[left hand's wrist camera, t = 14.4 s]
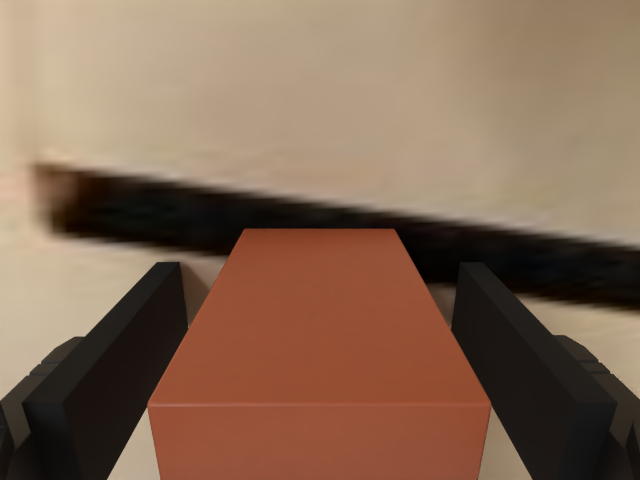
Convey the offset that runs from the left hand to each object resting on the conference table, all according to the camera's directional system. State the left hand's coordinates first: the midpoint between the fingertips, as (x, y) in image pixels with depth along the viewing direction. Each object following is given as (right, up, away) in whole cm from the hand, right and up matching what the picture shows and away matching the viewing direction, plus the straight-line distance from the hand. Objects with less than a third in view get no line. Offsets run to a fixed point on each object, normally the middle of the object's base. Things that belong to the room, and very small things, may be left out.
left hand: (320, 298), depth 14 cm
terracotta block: (0, 0, 0) cm, 0 cm away
